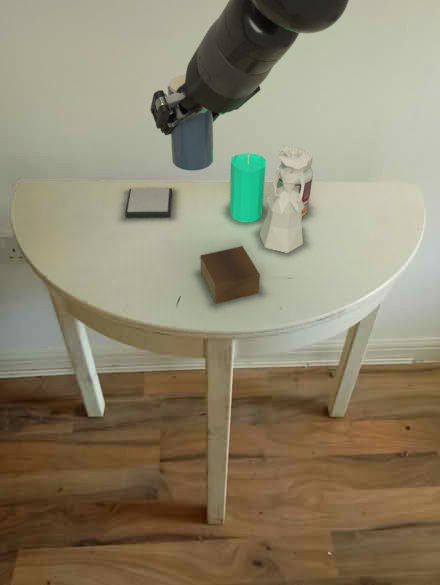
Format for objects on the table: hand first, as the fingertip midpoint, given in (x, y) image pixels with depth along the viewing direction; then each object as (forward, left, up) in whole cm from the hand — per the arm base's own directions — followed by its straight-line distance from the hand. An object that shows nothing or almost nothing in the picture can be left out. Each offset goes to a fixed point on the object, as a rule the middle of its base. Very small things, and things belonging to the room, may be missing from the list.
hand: (185, 122), depth 69 cm
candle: (+12, +6, -22) cm, 26 cm away
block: (+3, -11, -22) cm, 25 cm away
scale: (-4, +14, -22) cm, 26 cm away
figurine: (+15, -3, -22) cm, 27 cm away
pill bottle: (+20, +4, -22) cm, 30 cm away
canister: (0, -2, -5) cm, 5 cm away
